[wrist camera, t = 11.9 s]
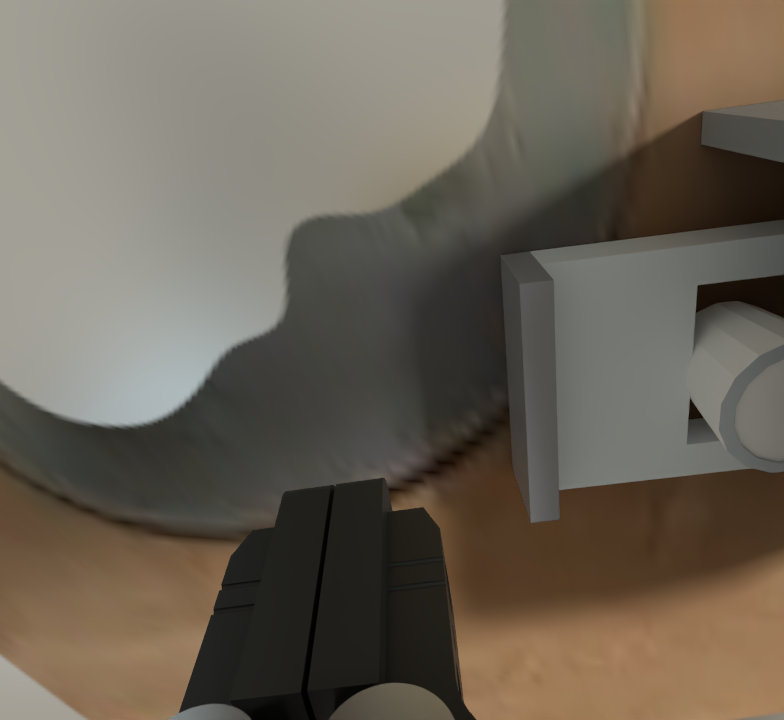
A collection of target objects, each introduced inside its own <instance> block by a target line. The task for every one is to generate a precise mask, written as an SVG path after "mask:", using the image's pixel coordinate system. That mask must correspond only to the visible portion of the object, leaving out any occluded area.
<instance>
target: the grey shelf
mask: <svg viewBox="0 0 784 720" xmlns="http://www.w3.org/2000/svg"><path fill="white" fill-rule="evenodd" d="M701 145H706V146H710V147H715V148H719V149H724V150H729V151H733V152H738V153H742V154H747V155H751V156H756V157H760V158H765V159H769V160H774V161H779V162H783V163H784V100H782V101H774V102H767V103H760V104H752V105H745V106H738V107H730V108H723V109H716V110H708V111H703V118H702V135H701Z"/></svg>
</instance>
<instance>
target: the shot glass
mask: <svg viewBox="0 0 784 720" xmlns="http://www.w3.org/2000/svg"><path fill="white" fill-rule="evenodd" d="M686 386H687V389H688V391H689V393H690V399H691V400H692V402H693V403H694V405H695V406H696V407H697V409H698V410H699V412H700V413H701V415H702V416H703V417H704V419H705V420H706V422H707V423H708V425H709V426H710V427H711V429H712V430H713V432H714V433H715V434H716V436H717V437H718V439H719V440H720V442H721V443H722V444H723V446H724V447H725V449H726V450H727V451H728V452H729V453H730V454H731V455H732V456H734V457H735V458H736V459H737V460H739V461H740V462H741V463H742V464H744V465H745V466H746V467H749V468H753V469H757V470H761V471H765V472H769V473H777V472H784V318H783V317H780V316H778V315H776V314H773V313H771V312H769V311H766V310H764V309H761V308H759V307H757V306H754V305H750V304H747V303H743V302H740V301H730V302H721V303H715V304H713V305H711V306H709V307H707V308H705V309H703V310H701V311H699V312H697V313H696V315H695V329H694V344H693V356H692V358H691V360H690V362H689V364H688V369H687V383H686Z"/></svg>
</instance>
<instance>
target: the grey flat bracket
mask: <svg viewBox="0 0 784 720" xmlns="http://www.w3.org/2000/svg"><path fill="white" fill-rule="evenodd" d="M500 259H501V277H502V294H503V311H504V328H505V345H506V362H507V379H508V397H509V414H510V431H511V448H512V465H513V472H514V475H515V478H516V481H517V483H518V486H519V489H520V492H521V495H522V498H523V501H524V504H525V507H526V510H527V513H528V516H529V519H530V522H531V523H534V522H543V521H552V520H560V512H559V490H565V489H574V488H582V487H591V486H600V485H609V484H618V483H626V482H635V481H644V480H653V479H662V478H671V477H679V476H688V475H697V474H706V473H715V472H723V471H732V470H741V469H750V468H749V467H746V466H745V465H744V464H742V463H741V462H740V461H739V460H737V459H736V458H735V457H734V456H732V455H731V454H730V453H729V452H728V451H727V450H726V449H725V447H724V446H723V444H722V443H721V442H720V440H719V439H718V437H717V436H716V434H715V433H714V432H713V430H712V429H711V427H710V426H709V425H708V423H707V422H706V420H705V419H704V418H699V419H690V420H688V418H689V403H690V393H689V391H688V389H687V386H686V383H687V369H688V364H689V362H690V360H691V358H692V356H693V344H694V329H695V315H696V300H697V285H704V284H712V283H720V282H728V281H736V280H744V279H752V278H761V277H769V276H777V275H784V220H776V221H768V222H760V223H752V224H744V225H736V226H728V227H720V228H712V229H704V230H696V231H688V232H680V233H673V234H665V235H657V236H649V237H641V238H633V239H625V240H617V241H609V242H601V243H593V244H585V245H577V246H569V247H561V248H553V249H545V250H537V251H529V252H521V253H513V254H506V255H500Z"/></svg>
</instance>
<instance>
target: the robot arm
mask: <svg viewBox="0 0 784 720" xmlns="http://www.w3.org/2000/svg"><path fill="white" fill-rule="evenodd" d="M221 585H222V590H220V591H219V593H218V597H217V600H216V603H215V606H214V615H211V618H210V621H209V624H208V627H207V630H206V633H205V636H204V639H203V642H202V645H201V648H200V651H199V654H198V657H197V660H196V663H195V666H194V669H193V672H192V675H191V678H190V681H189V684H188V687H187V690H186V693H185V696H184V699H183V702H182V705H181V708H180V711H179V713H178V714H176V715H175V716H173V717H171V718H169V719H168V720H476V719H475V718H474V716H473V715H472V714H471V713H470V712H469V711H468V709H467V707H466V706H465V704H464V700H463V692H462V683H461V674H460V667H459V657H458V648H457V641H456V631H455V622H454V614H453V606H452V600H451V594H450V588H449V582H448V575H447V569H446V563H445V557H444V551H443V545H442V539H441V533H440V528H439V527H438V526H437V524H436V523H435V522H434V521H433V519H432V518H431V517H430V515H429V514H428V513H427V512H426V510H425V509H424V508H423V507H422V508H414V509H407V510H399V511H392V507H391V501H390V496H389V491H388V487H387V483H386V480H385V478H379V479H372V480H364V481H357V482H350V483H343V484H337V485H336V486H334V485H329V486H322V487H315V488H307V489H300V490H293V491H286V492H284V494H283V496H282V500H281V504H280V508H279V512H278V515H277V519H276V523H275V527H274V528H266V529H259V530H252V532H251V533H250V534H249V535H248V536H247V538H246V539H245V540H244V541H243V542H242V544H241V545H240V546H239V547H238V548H237V550H236V551H235V552H234V553H233V554H232V555H231V557H230V560H229V563H228V566H227V569H226V572H225V575H224V578H223V581H222V584H221Z"/></svg>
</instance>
